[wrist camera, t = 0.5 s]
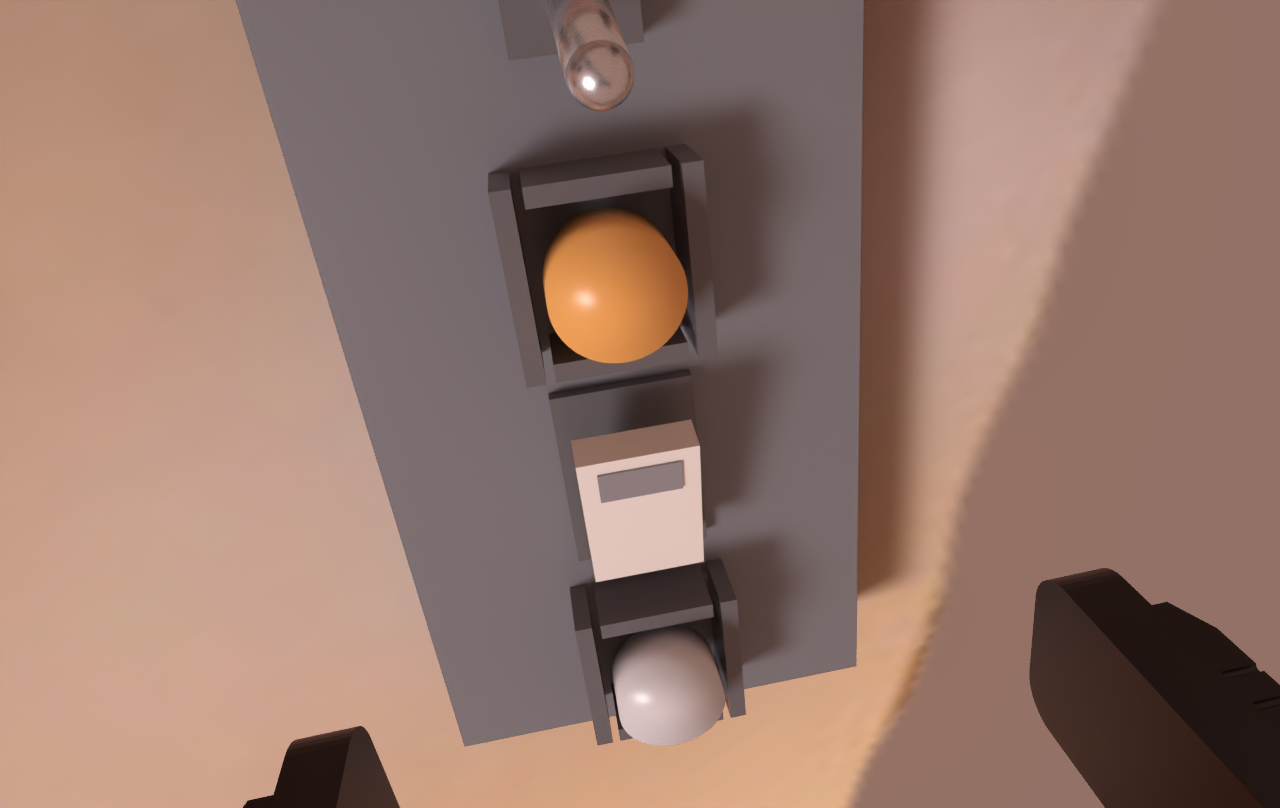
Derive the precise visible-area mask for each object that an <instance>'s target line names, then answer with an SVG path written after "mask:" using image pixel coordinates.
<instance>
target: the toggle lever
mask: <svg viewBox="0 0 1280 808" xmlns="http://www.w3.org/2000/svg"><path fill="white" fill-rule="evenodd" d="M544 1H545V5H546V9H547V13H548V16H549V20H550V24H551V28H552V32H553V35H554V39H555V43H556V47H557V50H558V54H559V58H560V62H561V66H562V69H563V73H564V77H565V81H566V84H567V87H568V89H569V91H570V93H571V95H572V96H573V98H574V99H575V100H576V101H577V102H578V103H579V104H580V105H582V106H583V107H585V108H587V109H590V110H593V111H607V110H611V109H613V108H616V107H617V106H619V105H620V104H621V103H623V102H624V101H625V100H626V98H627V97H628V96H629V94H630V92H631V90H632V87H633V83H634V77H635V72H634V65H633V62H632V59H631V56H630V54H629V51H628V49H627V46H626V43H625V41H624V38H623V36H622V33H621V31H620V28H619V25H618V23H617V20H616V18H615V15H614V12H613V10H612V7H611V5H610V2H609V0H544Z"/></svg>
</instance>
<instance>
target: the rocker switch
mask: <svg viewBox="0 0 1280 808" xmlns="http://www.w3.org/2000/svg"><path fill="white" fill-rule="evenodd" d="M571 445H572V451H573V457H574V462H575V468H576V474H577V479H578V485H579V491H580V496H581V502H582V507H583V513H584V519H585V524H586V530H587V536H588V541H589V547H590V552H591V558H592V564H593V569H594V575H595V580H596V582H600V581H606V580H611V579H616V578H621V577H626V576H632V575H637V574H642V573H647V572H652V571H658V570H663V569H668V568H673V567H679V566H684V565H689V564H694V563H699V562H704V549H703V520H702V491H701V462H700V444H699V441H698V438H697V435H696V432H695V429H694V426H693V423H692V420H685V421H679V422H674V423H668V424H662V425H657V426H651V427H646V428H640V429H634V430H629V431H623V432H617V433H612V434H606V435H600V436H595V437H589V438H583V439H578V440H572V441H571Z"/></svg>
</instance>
